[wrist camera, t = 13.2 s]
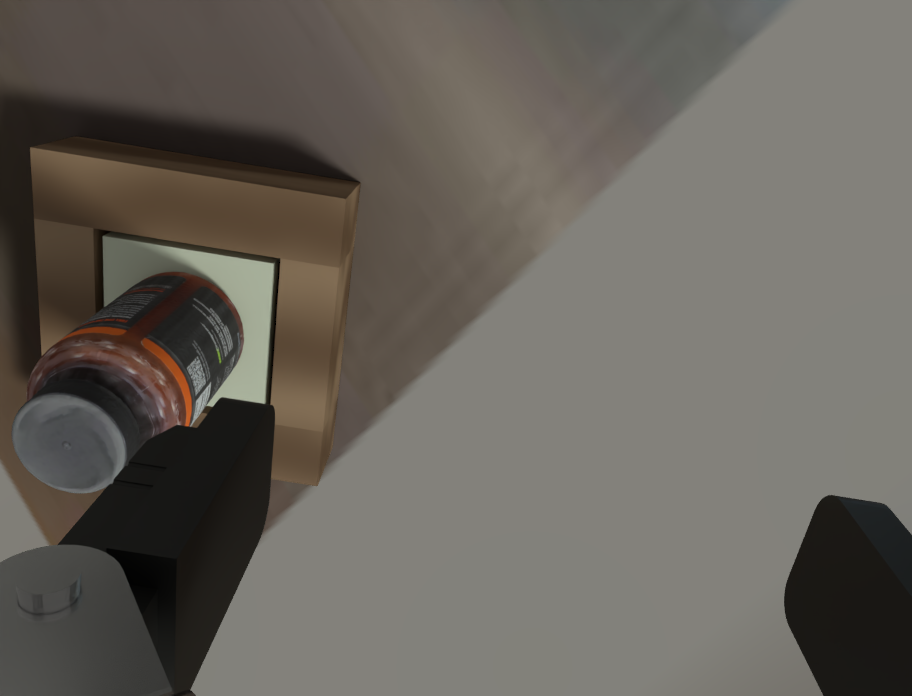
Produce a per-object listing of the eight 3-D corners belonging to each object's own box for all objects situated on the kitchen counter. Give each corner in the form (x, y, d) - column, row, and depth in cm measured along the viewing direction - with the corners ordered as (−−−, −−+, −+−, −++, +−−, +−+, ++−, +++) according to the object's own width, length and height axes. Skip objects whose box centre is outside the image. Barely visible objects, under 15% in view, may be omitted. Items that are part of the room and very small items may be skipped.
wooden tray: (75, 136, 38) (30, 147, 34) (360, 182, 38) (346, 199, 34) (85, 408, 43) (46, 443, 40) (332, 447, 43) (317, 486, 40)
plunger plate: (112, 230, 36) (102, 236, 35) (279, 257, 36) (273, 263, 36) (115, 381, 39) (106, 389, 38) (268, 405, 39) (263, 414, 38)
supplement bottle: (99, 319, 37) (-58, 432, 26) (182, 241, 35) (50, 329, 25) (190, 406, 39) (77, 545, 28) (274, 336, 37) (186, 456, 26)
